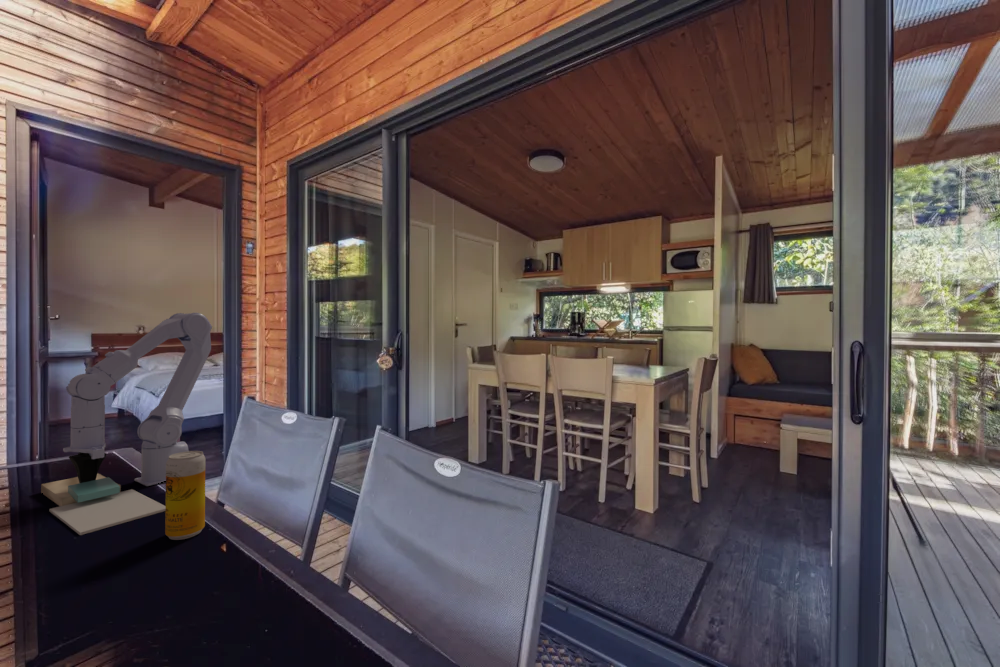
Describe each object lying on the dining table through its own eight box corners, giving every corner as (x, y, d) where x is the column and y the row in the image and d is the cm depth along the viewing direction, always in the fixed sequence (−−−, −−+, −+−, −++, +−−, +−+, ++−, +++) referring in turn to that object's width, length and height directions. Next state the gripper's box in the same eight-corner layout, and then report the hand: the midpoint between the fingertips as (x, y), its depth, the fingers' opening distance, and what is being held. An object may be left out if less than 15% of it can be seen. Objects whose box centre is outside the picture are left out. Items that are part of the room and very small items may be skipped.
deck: (97, 480, 111) (97, 472, 111) (120, 493, 102) (120, 485, 102) (41, 492, 102) (41, 484, 102) (61, 507, 94) (61, 498, 94)
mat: (132, 491, 103) (132, 489, 103) (168, 509, 93) (168, 507, 93) (49, 511, 92) (49, 508, 92) (80, 535, 81) (80, 532, 81)
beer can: (157, 538, 80) (157, 457, 80) (189, 524, 86) (189, 449, 86) (181, 543, 78) (182, 460, 78) (212, 529, 84) (213, 451, 84)
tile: (108, 483, 102) (108, 477, 102) (119, 492, 98) (119, 486, 98) (67, 492, 96) (68, 485, 96) (77, 502, 93) (78, 495, 92)
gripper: (54, 425, 100) (53, 483, 100) (74, 433, 92) (73, 496, 92) (94, 420, 106) (94, 475, 106) (116, 427, 98) (116, 487, 98)
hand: (87, 484), depth 100 cm, fingers closed
